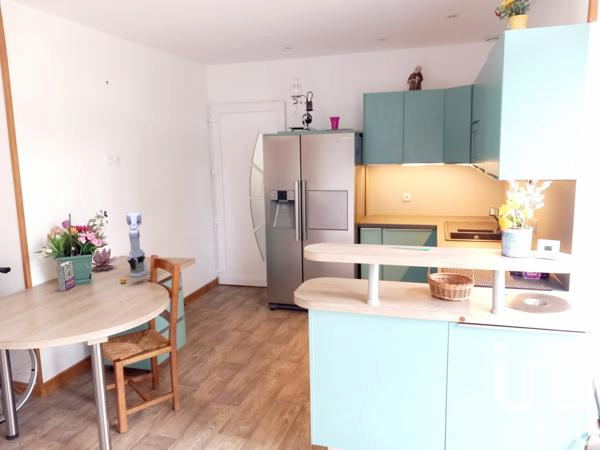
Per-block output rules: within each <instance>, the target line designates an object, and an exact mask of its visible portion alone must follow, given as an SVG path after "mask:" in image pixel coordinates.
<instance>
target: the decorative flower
mask: <svg viewBox="0 0 600 450" xmlns="http://www.w3.org/2000/svg"><path fill="white" fill-rule="evenodd" d="M95 251H96V250H95ZM111 253H112V251H111V248H109V249H108V251H107V250H106V248H105V247H104V248H103V249H102V251H101V252H99V250H98V251H96V252H94V257H93V260H92V261H93V262H92V265H91V266H93V267H92V268H91V271H93V270H95V269H96V272H97V271H98V272H101V271H102V270H103V271H105V270H109V268H110V269H113V268H114V265H113V264H112V263H114V262H115V261H116V260H117V255H115V256H113V257H111Z"/></svg>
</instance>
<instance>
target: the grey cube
mask: <svg viewBox="0 0 600 450" xmlns="http://www.w3.org/2000/svg"><path fill="white" fill-rule="evenodd" d="M144 262H145V261H144ZM144 262H136V263H135V270H132V268H131V266H130V265H129V269H130V270H129V271H130V273H131V274H133V273H140V272H143V271H144Z"/></svg>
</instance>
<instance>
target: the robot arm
mask: <svg viewBox="0 0 600 450" xmlns="http://www.w3.org/2000/svg"><path fill="white" fill-rule="evenodd" d="M125 218H126V219H125V220H126V223H127V226H129V230H128V238H129V245H130V251H129V256H127V257H126V260H127V262H128V264H129V267H130V266H131V268H132V270H135V263H136V262H144V271H143V272H140V273H131V274H130V275H129V276H130V277H139V278H140V277H143V276H145V275H148V274H149V272H148V268H147V266H148V265H147V262H145V260H146V253H145V251H144V250H143V249H142V248H141V244H140V243H141V241H140V238H141V234H140V229H139V226H140V225H142V219H143V218H142V213H141V211H139V212H138V211H137V212H126V214H125Z"/></svg>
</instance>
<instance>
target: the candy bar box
mask: <svg viewBox="0 0 600 450" xmlns="http://www.w3.org/2000/svg"><path fill="white" fill-rule="evenodd" d="M55 270H56V276H57V284H58V291H59V292H67V291H68V290H71V289H72V288H74V287H76V281H75V273H74V264H73V261H64V262H62V263H60V264H57V265H55Z"/></svg>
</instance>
